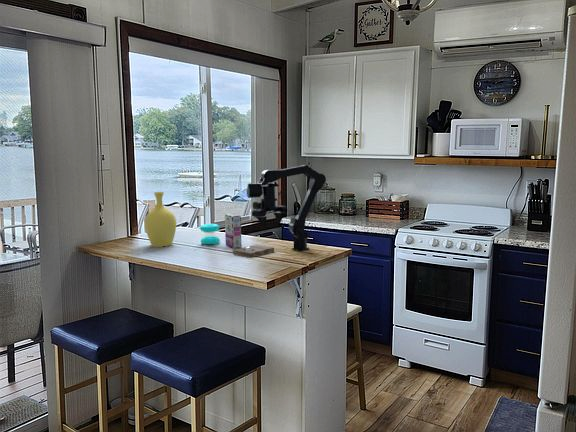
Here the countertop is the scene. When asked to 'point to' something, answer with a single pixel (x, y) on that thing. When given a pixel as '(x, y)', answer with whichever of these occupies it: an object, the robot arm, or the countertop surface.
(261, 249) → the walnut plate
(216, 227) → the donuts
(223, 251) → the countertop surface
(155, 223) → the vase
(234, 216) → the candy bar box
